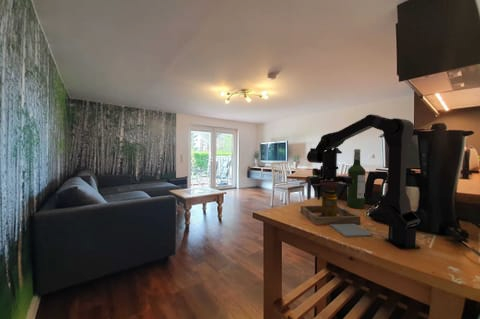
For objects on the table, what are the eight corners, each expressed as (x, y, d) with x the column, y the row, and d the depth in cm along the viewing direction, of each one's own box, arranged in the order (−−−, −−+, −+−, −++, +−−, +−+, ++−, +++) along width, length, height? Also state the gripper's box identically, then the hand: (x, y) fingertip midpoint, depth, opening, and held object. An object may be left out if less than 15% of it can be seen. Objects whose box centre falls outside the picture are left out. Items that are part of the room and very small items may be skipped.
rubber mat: (372, 236, 69) (372, 234, 69) (345, 237, 68) (345, 235, 68) (354, 225, 79) (354, 223, 79) (329, 225, 78) (329, 224, 78)
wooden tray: (360, 224, 80) (360, 216, 80) (316, 225, 79) (316, 218, 78) (337, 211, 96) (337, 205, 96) (300, 212, 95) (300, 206, 95)
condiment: (340, 217, 88) (341, 190, 87) (332, 222, 82) (333, 193, 81) (323, 213, 93) (324, 188, 92) (315, 218, 87) (316, 191, 87)
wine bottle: (351, 203, 110) (353, 149, 108) (367, 207, 103) (369, 149, 102) (344, 206, 105) (345, 149, 103) (360, 209, 99) (362, 149, 97)
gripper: (339, 162, 95) (338, 194, 96) (301, 162, 93) (300, 195, 94) (354, 164, 84) (353, 200, 85) (311, 164, 82) (310, 201, 83)
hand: (328, 199), depth 87 cm, fingers open, 9 cm apart
